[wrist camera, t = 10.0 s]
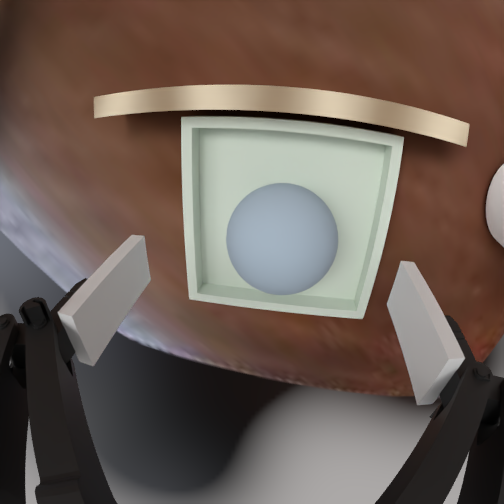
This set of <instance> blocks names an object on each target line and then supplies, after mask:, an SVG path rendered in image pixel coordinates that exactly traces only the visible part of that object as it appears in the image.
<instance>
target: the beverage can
mask: <svg viewBox="0 0 504 504" xmlns="http://www.w3.org/2000/svg"><path fill="white" fill-rule="evenodd" d="M486 220H487V224H488V228H489V230H490V232H491V234H492V236H493V237H494V238H495V239H496V240H497V241H498V242H499V243H500V244H501V245H502V246H503V247H504V164H503V165H502V166H501V167H500V168H499V169H498V171H497V172H496V174H495V175H494V177H493V179H492V181H491V184H490V187H489V190H488V194H487V199H486Z"/></svg>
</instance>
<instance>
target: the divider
mask: <svg viewBox="0 0 504 504" xmlns="http://www.w3.org/2000/svg"><path fill="white" fill-rule="evenodd" d="M176 110H254V111H272V112H286V113H297V114H308V115H317V116H325V117H333V118H340V119H347V120H353V121H359V122H365V123H371V124H376V125H382V126H387V127H392V128H396V129H401V130H405V131H410V132H414V133H418V134H422V135H426V136H430V137H434V138H438V139H441V140H445V141H449V142H452V143H455V144H459V145H462V146H465V147H466V146H467V139H468V131H469V124H468V123H465V122H462V121H459V120H456V119H453V118H450V117H446V116H443V115H440V114H436V113H433V112H429V111H426V110H422V109H418V108H414V107H411V106H406V105H402V104H398V103H394V102H389V101H384V100H379V99H374V98H369V97H364V96H358V95H352V94H346V93H339V92H332V91H324V90H316V89H306V88H295V87H283V86H265V85H194V86H177V87H164V88H154V89H144V90H136V91H129V92H121V93H115V94H109V95H103V96H97V97H94V118H98V117H106V116H114V115H123V114H133V113H144V112H157V111H176Z"/></svg>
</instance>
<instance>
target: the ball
mask: <svg viewBox="0 0 504 504" xmlns="http://www.w3.org/2000/svg"><path fill="white" fill-rule="evenodd" d="M226 245H227V250H228V255H229V258H230V261H231V263H232V265H233V267H234V268H235V270H236V271H237V273H238V274H239V275H240V276H241V278H242V279H243V280H244V281H246V282H247V283H248V284H249V285H251V286H252V287H254V288H256V289H258V290H260V291H262V292H265V293H269V294H273V295H291V294H296V293H299V292H302V291H305V290H307V289H309V288H311V287H312V286H314V285H315V284H316V283H318V282H319V281H320V280H321V279H322V278H323V277H324V276H325V275H326V274H327V272H328V271H329V269H330V267H331V266H332V264H333V262H334V259H335V256H336V253H337V248H338V231H337V225H336V222H335V219H334V217H333V215H332V213H331V211H330V209H329V208H328V206H327V205H326V203H325V202H324V201H323V200H322V199H321V198H320V197H318V196H317V195H316V194H315V193H313V192H312V191H310V190H308V189H306V188H304V187H302V186H299V185H295V184H290V183H274V184H269V185H266V186H263V187H260V188H258V189H256V190H254V191H252V192H251V193H249V194H248V195H247V196H246V197H245V198H244V199H243V200H241V202H240V203H239V204H238V205H237V207H236V208H235V210H234V211H233V213H232V215H231V218H230V220H229V223H228V227H227V235H226Z"/></svg>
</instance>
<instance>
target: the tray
mask: <svg viewBox="0 0 504 504" xmlns="http://www.w3.org/2000/svg"><path fill="white" fill-rule="evenodd" d="M403 142H404V137H402V136H399V135H396V134H391V133H386V132H381V131H376V130H370V129H364V128H358V127H352V126H346V125H339V124H331V123H323V122H315V121H306V120H296V119H284V118H270V117H252V116H186V117H181V157H182V195H183V218H184V236H185V252H186V266H187V278H188V290H189V299H191V300H198V301H204V302H211V303H218V304H225V305H233V306H240V307H248V308H256V309H264V310H273V311H281V312H291V313H300V314H310V315H320V316H331V317H343V318H356V319H363V317H364V314H365V311H366V308H367V304H368V301H369V298H370V295H371V291H372V288H373V284H374V281H375V277H376V274H377V270H378V267H379V263H380V259H381V255H382V251H383V247H384V243H385V239H386V235H387V231H388V226H389V222H390V217H391V212H392V208H393V203H394V198H395V192H396V187H397V181H398V176H399V169H400V163H401V157H402V150H403ZM274 183H290V184H295V185H299V186H302V187H304V188H306V189H308V190H310V191H312V192H313V193H315V194H316V195H317V196H318V197H320V198H321V199H322V200H323V201H324V202H325V203H326V205H327V206H328V208H329V209H330V211H331V213H332V215H333V217H334V219H335V222H336V225H337V231H338V248H337V253H336V256H335V259H334V262H333V264H332V266H331V267H330V269H329V271H328V272H327V274H326V275H325V276H324V277H323V278H322V279H321V280H320V281H319V282H318V283H316V284H315V285H314V286H312V287H311V288H309V289H307V290H305V291H302V292H299V293H296V294H291V295H273V294H269V293H265V292H262V291H260V290H258V289H256V288H254V287H252V286H251V285H249V284H248V283H247V282H246V281H244V280H243V279H242V278H241V276H240V275H239V274H238V273H237V271H236V270H235V268H234V267H233V265H232V263H231V261H230V258H229V255H228V250H227V245H226V235H227V227H228V223H229V220H230V218H231V215H232V213H233V211H234V210H235V208H236V207H237V205H238V204H239V203H240V202H241V200H243V199H244V198H245V197H246V196H247V195H248V194H249V193H251V192H252V191H254V190H256V189H258V188H260V187H263V186H266V185H269V184H274Z"/></svg>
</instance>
